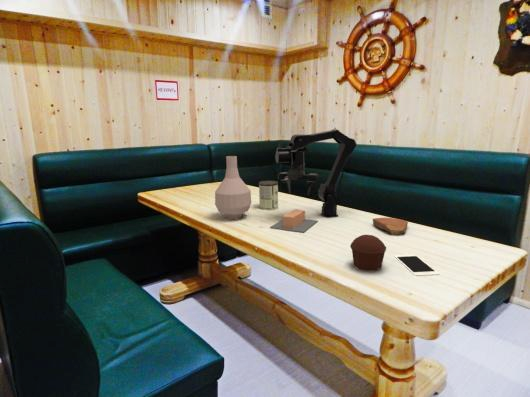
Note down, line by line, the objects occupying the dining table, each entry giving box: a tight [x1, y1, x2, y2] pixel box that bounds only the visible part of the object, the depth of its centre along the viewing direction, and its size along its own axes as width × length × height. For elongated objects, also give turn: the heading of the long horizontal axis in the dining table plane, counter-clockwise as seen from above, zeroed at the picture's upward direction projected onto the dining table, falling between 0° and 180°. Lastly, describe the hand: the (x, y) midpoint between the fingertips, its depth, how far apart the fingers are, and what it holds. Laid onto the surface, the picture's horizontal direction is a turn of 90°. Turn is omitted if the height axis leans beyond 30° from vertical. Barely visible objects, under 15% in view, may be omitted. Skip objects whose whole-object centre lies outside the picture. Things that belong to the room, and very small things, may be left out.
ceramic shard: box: [372, 217, 409, 236], centre depth 152 cm, size 15×6×15 cm
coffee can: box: [258, 180, 279, 211], centre depth 192 cm, size 10×10×14 cm
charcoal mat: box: [269, 218, 319, 234], centre depth 162 cm, size 18×16×1 cm
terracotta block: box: [282, 209, 306, 229], centre depth 161 cm, size 5×5×13 cm
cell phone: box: [393, 254, 440, 277], centre depth 117 cm, size 8×16×1 cm, turn 4°
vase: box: [214, 155, 252, 220], centre depth 173 cm, size 18×18×30 cm
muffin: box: [349, 234, 387, 272], centre depth 116 cm, size 12×11×10 cm
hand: (298, 194), depth 170 cm, fingers open, 9 cm apart
